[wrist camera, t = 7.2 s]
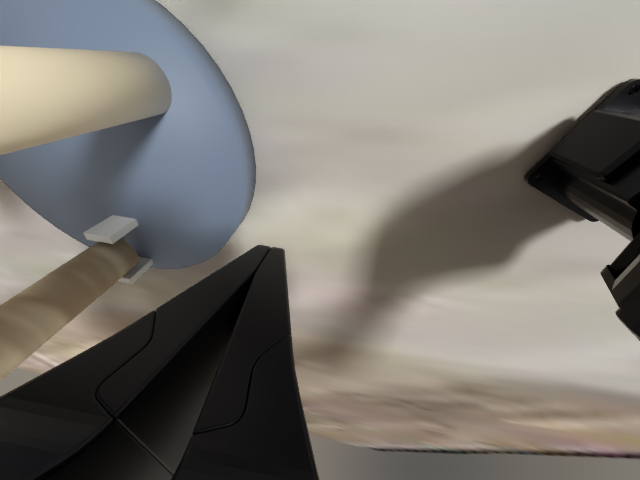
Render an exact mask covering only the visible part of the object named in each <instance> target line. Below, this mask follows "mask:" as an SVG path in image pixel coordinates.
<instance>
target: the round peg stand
mask: <svg viewBox="0 0 640 480" xmlns="http://www.w3.org/2000/svg"><path fill="white" fill-rule="evenodd" d="M0 179H1V180H2V181H3V182H4V183H5V184H6V185H7V186H8V187H9V188H10V189H11V190H12V191H13V192H14V193H15V194H16V195H17V196H18V197H19V198H21V199H22V200H23V201H24V202H25V203H26V204H27V205H28V206H30V207H31V208H32V209H33V210H34V211H36V212H37V213H38V214H39V215H41V216H42V217H43V218H44V219H46V220H47V221H49V222H50V223H51V224H53V225H54V226H55V227H57V228H58V229H60V230H61V231H63V232H65V233H66V234H68V235H69V236H71V237H72V238H74V239H76V240H78V241H79V242H81V243H83V244H85V245H87V246H88V247H91V246H92V245H94V244H95V243H97V242H104V243H109V244H113V243H115V242H116V241H118V240H119V239H120V238H122V237H123V236H124V238H125V240H126V242H127V243H128V244H129V245H130V246H131V247H133V249H134V250H135V251H136V253H137V254H138V257H139V262H138V264H136V266H135V267H134V268H133V269H131V270H129V271H128V272H127V273H126V274H125V275H124V276H122V277H121V278H120V279H119V280H118V281H117V282H123V283H128V284H133V283H134V282H135V281H136V280H137V279H138V278H140V277H141V276H142V275H143V274H144V273H145V272H146V271H147V270H148V269H149V268H150V267H151V268H160V269H174V268H184V267H188V266H193V265H196V264H198V263H201V262H203V261H205V260H207V259H209V258H210V257H212V256H214V255H215V254H216V253H217V252H218V251H219V250H220V249H222V248H223V246H224V245H225V244H226V242H227V241H228V240H229V238H230V237H231V236H232V235H233V233H234V232H235V231H236V229H237V228H238V227H239V225H240V224H241V223H242V221H243V220H244V218H245V216H246V215H247V213H248V211H249V209H250V206H251V202H252V199H253V196H254V189H255V183H256V164H255V156H254V148H253V144H252V140H251V136H250V131H249V128H248V125H247V123H246V120H245V117H244V114H243V111H242V109H241V107H240V105H239V103H238V101H237V98H236V96H235V94H234V92H233V90H232V88H231V86H230V85H229V83H228V81H227V80H226V78H225V77H224V75H223V73H222V72H221V70H220V68H219V67H218V65H217V64H216V63H215V61H214V60H213V59H212V57H211V56H210V55H209V53H208V52H207V51H206V49H205V48H204V46H203V45H202V44H201V43H200V42H199V41H198V40H197V39H196V37H195V36H194V35H193V34H192V33H191V32H190V31H189V30H188V29H187V28H186V26H185V25H184V24H183V23H181V22H180V21H179V20H178V19H177V18H176V17H175V16H174V15H173V14H171V13H170V12H169V11H168V10H167V9H166V8H165V7H164V6H162V5H161V4H160V3H158V2H157V1H155V0H0Z"/></svg>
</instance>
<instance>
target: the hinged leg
mask: <svg viewBox="0 0 640 480" xmlns="http://www.w3.org/2000/svg"><path fill="white" fill-rule="evenodd" d="M138 262H139V257H138V254H137V253H136V251H135V250H134V249H133V247H131V246H130V245H129V244H128V243H127V242H126V240H125V238H124V236H123V237H122V238H120V239H119V240H118V241H116V242H115V243H113V244H109V243H104V242H97V243H95V244H94V245H92V246H91V247H89V248H88V249H86V250H85V251H83V252H82V253H80V254H79V255H77V256H76V257H74V258H72V259H71V260H69V261H68V262H66V263H65V264H63V265H62V266H60V267H59V268H57V269H56V270H54V271H53V272H51V273H49V274H48V275H46V276H45V277H43V278H42V279H40V280H39V281H37V282H36V283H34V284H33V285H31V286H30V287H28V288H26V289H25V290H23V291H22V292H20V293H19V294H17V295H16V296H14V297H13V298H11V299H10V300H8V301H7V302H5V303H3V304H2V305H0V381H1V380H2V379H3V378H4V377H6V376H7V375H8V374H9V373H10V372H11V371H13V370H14V369H15V368H16V367H17V366H18V365H20V364H21V363H22V362H23V361H24V360H25V359H27V358H28V357H29V356H30V355H31V354H32V353H34V352H35V351H36V350H37V349H38V348H39V347H41V346H42V345H43V344H44V343H45V342H46V341H48V340H49V339H50V338H51V337H52V336H53V335H55V334H56V333H57V332H58V331H59V330H61V329H62V328H63V327H64V326H65V325H66V324H68V323H69V322H70V321H71V320H72V319H73V318H75V317H76V316H77V315H78V314H79V313H80V312H82V311H83V310H84V309H85V308H86V307H87V306H89V305H90V304H91V303H92V302H93V301H94V300H96V299H97V298H98V297H99V296H100V295H101V294H103V293H104V292H105V291H106V290H107V289H108V288H110V287H111V286H112V285H113V284H114V283H115V282H117V281H118V280H119V279H120V278H121V277H122V276H124V275H125V274H126V273H127V272H128V271H129V270H131V269H133V268H134V267H135V266H136V264H138Z"/></svg>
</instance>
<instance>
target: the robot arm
mask: <svg viewBox="0 0 640 480" xmlns="http://www.w3.org/2000/svg"><path fill="white" fill-rule="evenodd" d="M633 86H634V89H633V90H632V92H631V93H629V94H628V91H629V89H630V88H631V87H633ZM535 175H538V176H537V178H535V179H533V180H532V178H533V177H534V176H535ZM525 181H526V182H527V183H528V184H530V185H531V186H533V187H535V188H536V189H538V190H540V191H541V192H543V193H544V194H546V195H548V196H549V197H551V198H553V199H554V200H556V201H558V202H559V203H561V204H563V205H564V206H566V207H568V208H569V209H571V210H573V211H574V212H576V213H578V214H579V215H581V216H583V217H584V218H586V219H587V220H589V221H592V222H596V221H599V220H600V221H601V222H603V223H604V224H606V225H607V226H609V227H610V228H612V229H613V230H615V231H616V232H618V233H619V234H621V235H622V236H624V237H625V238H627V239H628V240H630V241H631V242H630V243H629V244H628V246H627V247H626V248H625V249H624V250H623V251H622V252H621V254H620V255H619V256H618V257H617V258H616V259H615V260H614V262H613V263H612V264H611V265H607V266H606V267H605V268H604V269H603V270H602V272H601V275H602V277H603V279H604V281H605V283H606V285H607V286H608V288H609V290H610V292H611V294H612V295H613V297H614V299H615V301H616V303H617V305H618V306H619V309H618V310H617V311H616V315H617V317H618V318H619V320H620V321H621V322H622V323H623V324H624V325H625V326H626V327H627V328H628V329H629V330H630V331H631V332H632V333H633V334H634V335H635V336H636V337H637V338H638V339H639V340H640V79H630V80H628V81H626V82H624V83H623V84H622V85H620V86H619V87H618V88H617V89H616V90H615V91H614V92H613V93H612V94H611V95H610V96H609V97H608V98H607V99H605V100H604V101H603V102H602V103H601V104H600V105H599V106H598V107H597V108H596V109H595V110H594V111H592V112H591V113H590V114H589V115H588V116H586V117H585V118H584V119H583V120H582V121H581V122H580V123H579V124H578V125H577V126H576V127H575V128H574V129H573V130H572V131H571V132H569V133H568V134H567V135H566V136H565V137H564V138H563V139H562V140H561V141H560V142H559V143H558V144H557V145H556V146H555V147H553V148H552V149H551V151H550V152H549V153H548V154H547V155H546V156H545V157H544V158H542V159H541V160H540V161H539V162H538V163H537V164H536V165H535V166H534V167H533V168H532V169H531V170H530V171H529V172H528V173H527V174H526V175H525ZM0 480H319V476H318V472H317V468H316V464H315V459H314V455H313V451H312V446H311V442H310V438H309V433H308V428H307V424H306V420H305V415H304V411H303V406H302V402H301V398H300V393H299V388H298V382H297V377H296V372H295V364H294V356H293V347H292V337H291V324H290V312H289V299H288V287H287V275H286V262H285V251H284V249H282V248H276V247H272V248H271V247H269V246H264V245H257V246H256V247H254V248H252V249H251V250H249V251H248V252H246V253H244V254H243V255H241V256H240V257H238V258H236V259H235V260H233V261H232V262H230V263H228V264H227V265H225V266H224V267H222V268H221V269H219V270H217V271H216V272H214V273H213V274H211V275H209V276H208V277H206V278H205V279H203V280H201V281H200V282H198V283H197V284H195V285H193V286H192V287H190V288H189V289H187V290H186V291H184V292H182V293H181V294H179V295H178V296H176V297H174V298H173V299H171V300H170V301H168V302H166V303H165V304H163V305H162V306H160V307H158V308H157V309H156V311H152V312H150V313H149V314H147V315H146V316H144V317H142V318H141V319H139V320H138V321H136V322H134V323H133V324H131V325H129V326H128V327H126V328H124V329H123V330H121V331H119V332H118V333H116V334H114V335H113V336H111V337H109V338H107V339H105V340H104V341H102V342H100V343H98V344H97V345H95V346H93V347H91V348H89V349H88V350H86V351H84V352H82V353H80V354H78V355H77V356H75V357H73V358H71V359H69V360H67V361H65V362H64V363H62V364H60V365H58V366H56V367H54V368H52V369H51V370H49V371H47V372H45V373H43V374H41V375H40V376H38V377H36V378H34V379H32V380H30V381H28V382H27V383H25V384H23V385H21V386H19V387H17V388H15V389H14V390H12V391H10V392H8V393H6V394H4V395H2V396H0Z"/></svg>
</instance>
